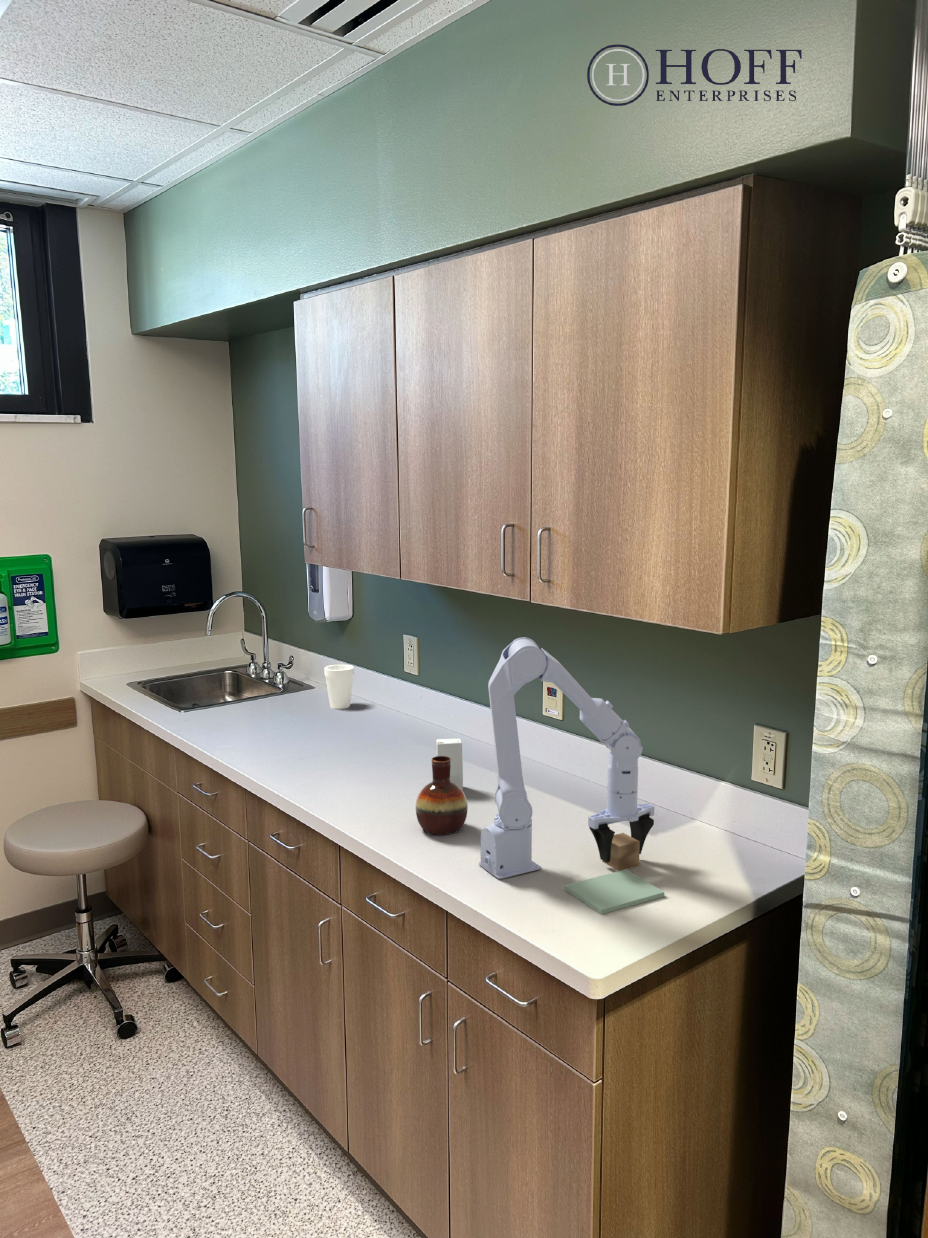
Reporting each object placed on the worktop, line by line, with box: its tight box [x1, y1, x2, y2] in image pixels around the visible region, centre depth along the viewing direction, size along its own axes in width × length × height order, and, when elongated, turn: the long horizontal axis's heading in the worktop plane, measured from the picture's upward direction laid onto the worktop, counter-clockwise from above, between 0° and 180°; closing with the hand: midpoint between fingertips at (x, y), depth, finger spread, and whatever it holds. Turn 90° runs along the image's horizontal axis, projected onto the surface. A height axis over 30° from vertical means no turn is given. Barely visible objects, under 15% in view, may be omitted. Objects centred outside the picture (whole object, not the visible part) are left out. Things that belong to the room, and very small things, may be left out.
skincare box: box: [435, 738, 464, 792], centre depth 221 cm, size 6×4×12 cm
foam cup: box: [323, 664, 355, 710], centre depth 300 cm, size 10×9×13 cm
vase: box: [415, 755, 469, 836], centre depth 196 cm, size 11×11×15 cm
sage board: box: [563, 869, 665, 915], centre depth 166 cm, size 14×11×1 cm
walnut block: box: [601, 832, 640, 872], centre depth 179 cm, size 5×5×5 cm
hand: (620, 856), depth 179 cm, fingers open, 7 cm apart
